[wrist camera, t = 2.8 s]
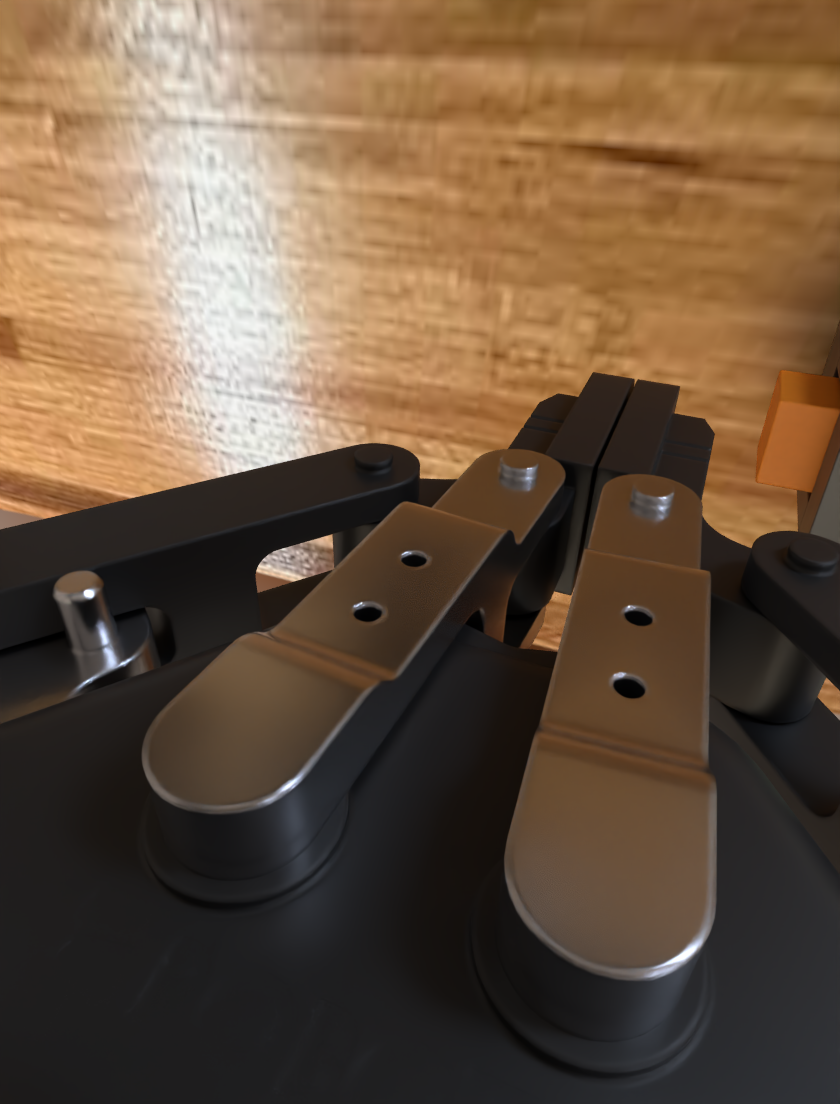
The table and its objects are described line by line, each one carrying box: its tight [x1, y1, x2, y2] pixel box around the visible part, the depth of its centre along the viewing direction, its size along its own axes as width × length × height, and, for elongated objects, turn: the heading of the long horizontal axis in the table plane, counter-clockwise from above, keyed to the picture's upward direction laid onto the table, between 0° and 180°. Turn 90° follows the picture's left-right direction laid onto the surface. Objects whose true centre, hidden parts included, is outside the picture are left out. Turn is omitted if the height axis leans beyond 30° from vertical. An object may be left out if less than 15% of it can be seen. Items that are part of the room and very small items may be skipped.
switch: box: [756, 370, 840, 492], centre depth 31 cm, size 2×4×4 cm, turn 178°
